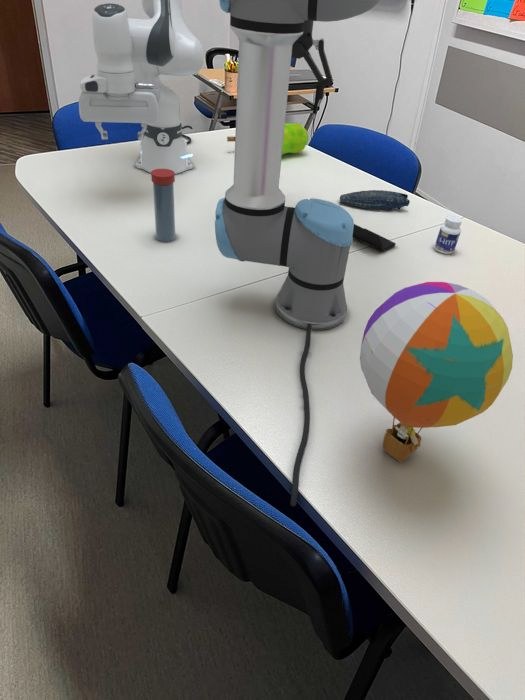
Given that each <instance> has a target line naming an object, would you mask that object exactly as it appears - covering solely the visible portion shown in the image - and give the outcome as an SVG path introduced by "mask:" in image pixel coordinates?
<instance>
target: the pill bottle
mask: <svg viewBox="0 0 525 700" xmlns="http://www.w3.org/2000/svg"><path fill="white" fill-rule="evenodd" d="M462 222H463V219H461V218H460V217H458V216H455V215H448V216H446V218H445V220H444V223H443V224H442V225H440V228H439V231H438V234H437V237H436V240H435V243H434V250H435V251H437V252H439V253H441V254H447V255H449V254H453V253H454V252H455V250H456V247H457V244H458V242H459V239H460V236H461V233H462V229H461V225H462Z"/></svg>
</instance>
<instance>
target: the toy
mask: <svg viewBox="0 0 525 700" xmlns="http://www.w3.org/2000/svg"><path fill="white" fill-rule="evenodd" d="M510 336H511V335H510V332H509V327H508V325H507V323H506V321H505V319H504V317H503V316H502V315H501V314H500V312H499V311H498V310H497V309H496V307H494V305H493V304H492V303H491V302H490V301H489V300H488V299H487V298H485V297H484V296H482V295H481V294H479V293H478V292H476V291H475V290H473V289H470V288H468V287H465V286H463V285H460V284H457V283H451V282H446V281H425V282H421V283H417V284H414V285H409V286H407V287H404V288H402V289H399V290H398V291H396V292H395V293H393V294H392V295H391V296H390V297H388V298H387V299H386V300H385V301H384V302H383V303H381V305H380V306H378V307H377V308H375V310H374V311H373V313H372V314H371V315H370V317H369V318H368V319H367V322H366V325H365V328H364V331H363V336H362V340H361V344H360V353H359V363H360V369H361V371H362V374H363V377H364V379H365V381H366V384H367V387H368V388H369V390H370V393H371V395H372V396H374V398H375V399H376V400H377V401H378V402H379V404H380V405H381V406H382V407H383V408H384V409H385V410H386V411H388V413H389V414H390V415H391V416H392V417H393V421H392V426H391V428H386V430H385V433H384V437H383V440H382V449H383V450H384V451H385V452H386V453H387V454H389V456H391V457H392V458H393V459H395V460H396V461H397V462H399V463H403V462H405V460H407V459H408V458H409V457H410V456H411V455H413V454H414V453H415V452H416V450H417V449H418V448H420V447H421V441H422V436H421V435H420V434H419V433H420V432H421V431H422V430H423V429H424V428H425V429H428V428H443V427H452V426H457V425H459V424H461V423H463V422H466V421H468V420H470V419H472V418H474V417H477V416H479V415H480V414H481V415H482V414H483V413H484V412H486V411H487V410H489V408H490V407H491V406H492V405H494V403H495V401H496V400H497V398H498V397H499V395H500V393H501V392H502V390H503V388H504V387H505V386H506V384H507V383H508V381H509V378H510V376H511V372H512V370H513V359H514V353H513V347H512V342H511V337H510ZM395 420H397V421H398V422H399V423H397V424H395ZM415 428H417V429H419V428H420V429H419V430H418V431H417V432H416V430H415Z"/></svg>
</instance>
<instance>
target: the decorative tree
mask: <svg viewBox="0 0 525 700" xmlns="http://www.w3.org/2000/svg"><path fill="white" fill-rule="evenodd" d="M226 138H227V139H226V142H235V136H227V137H226ZM308 141H309V132H308V131H307V128H305V127H304V126H303V125H302V124H301V123H298V122H296V123H295V122H293V123H291V122H289V123H288V122H285V127H284V138H283V148H282V156H283V155H285V154H298V153H301V152H302V151H304V150H305V148H306V146H307V145H308V143H309V142H308Z"/></svg>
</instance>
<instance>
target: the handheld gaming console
mask: <svg viewBox="0 0 525 700" xmlns="http://www.w3.org/2000/svg"><path fill="white" fill-rule="evenodd" d="M352 238H353V239H355V240H357V241H359V242H361V243H363V244H366V245H368V246H369V247H370V248H372V249H374V250H377V251H379V252H381V253H384V252H386V251H388V250H390V249H392V248H394V247H396V242H394V241H391V239H388V238H386V237H384V236H382V235H380V234H378V233H376V232H374V231H371V230H369V229H367V228H363V227H361V226H359V225H357V224H355V223H354V228H353V235H352Z"/></svg>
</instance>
